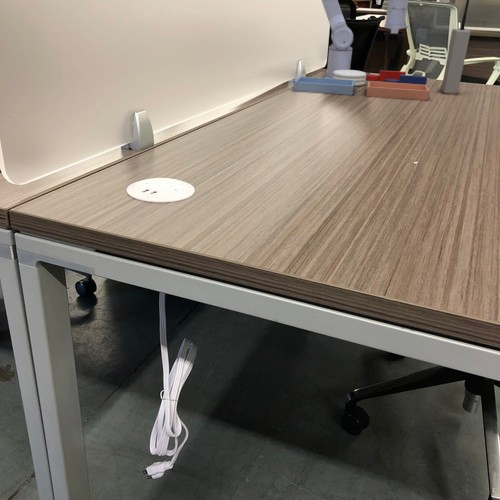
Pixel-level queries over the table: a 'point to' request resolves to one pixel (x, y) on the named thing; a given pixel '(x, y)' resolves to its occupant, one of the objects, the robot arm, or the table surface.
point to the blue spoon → (409, 79)
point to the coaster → (351, 76)
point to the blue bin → (324, 85)
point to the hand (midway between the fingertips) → (390, 56)
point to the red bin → (397, 90)
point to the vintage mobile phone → (456, 57)
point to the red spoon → (385, 75)
